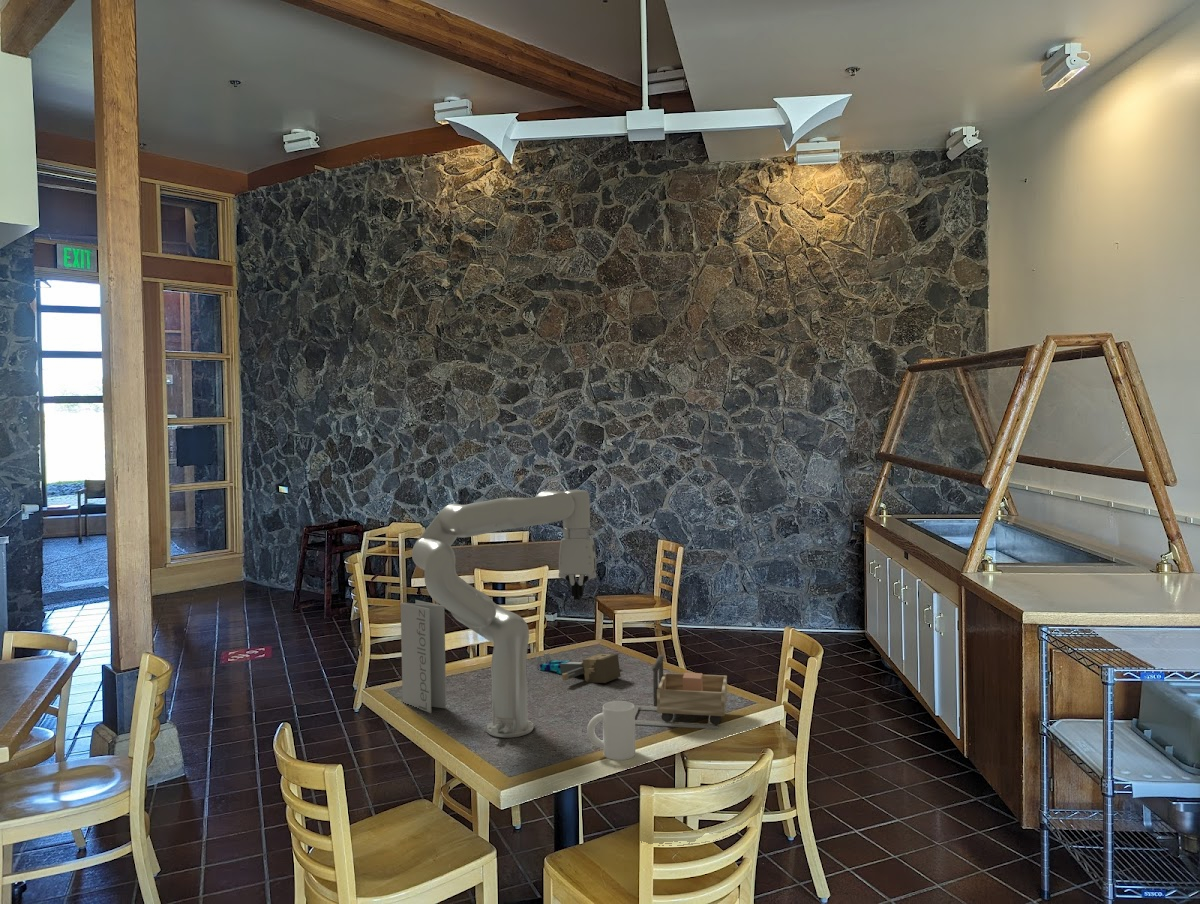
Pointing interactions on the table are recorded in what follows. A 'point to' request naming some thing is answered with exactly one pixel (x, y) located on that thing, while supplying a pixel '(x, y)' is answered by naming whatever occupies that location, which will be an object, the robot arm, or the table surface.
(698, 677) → the block
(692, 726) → the rails
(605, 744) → the mug
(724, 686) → the cart
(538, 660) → the toy
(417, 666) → the brochure
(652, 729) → the table surface
